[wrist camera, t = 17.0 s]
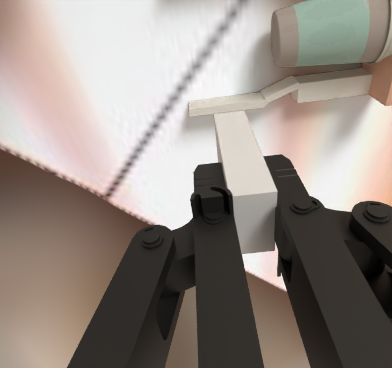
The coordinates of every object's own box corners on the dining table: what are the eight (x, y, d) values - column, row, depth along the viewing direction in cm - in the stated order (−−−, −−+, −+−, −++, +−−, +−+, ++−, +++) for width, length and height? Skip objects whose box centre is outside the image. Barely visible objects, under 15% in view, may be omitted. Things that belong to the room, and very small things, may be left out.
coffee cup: (270, 69, 40) (367, 52, 38) (283, 89, 33) (402, 70, 31) (267, -6, 35) (377, -29, 33) (281, -2, 28) (422, -30, 26)
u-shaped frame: (189, 108, 42) (190, 130, 36) (168, -44, 32) (164, -47, 26) (380, 83, 41) (411, 102, 35) (419, -82, 31) (472, -94, 25)
